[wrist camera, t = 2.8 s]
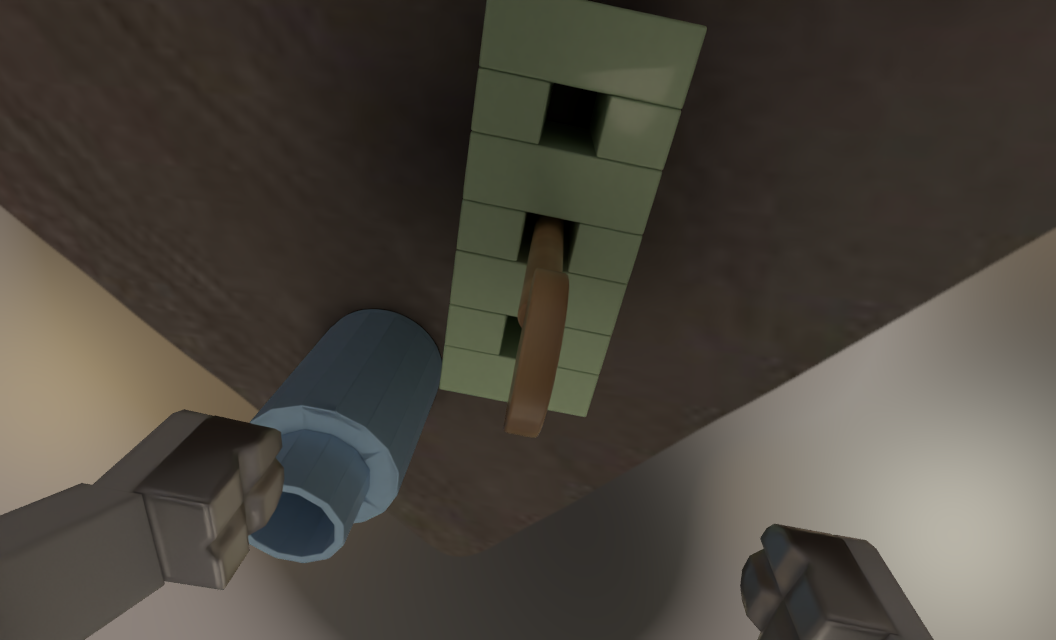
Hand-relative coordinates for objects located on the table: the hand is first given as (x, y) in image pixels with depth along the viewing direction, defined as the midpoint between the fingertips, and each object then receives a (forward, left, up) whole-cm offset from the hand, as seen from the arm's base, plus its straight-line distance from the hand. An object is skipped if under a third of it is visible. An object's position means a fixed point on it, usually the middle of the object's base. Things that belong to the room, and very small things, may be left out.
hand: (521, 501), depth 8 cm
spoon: (0, 0, -19) cm, 19 cm away
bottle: (+12, -8, -19) cm, 24 cm away
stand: (0, 0, -19) cm, 19 cm away
